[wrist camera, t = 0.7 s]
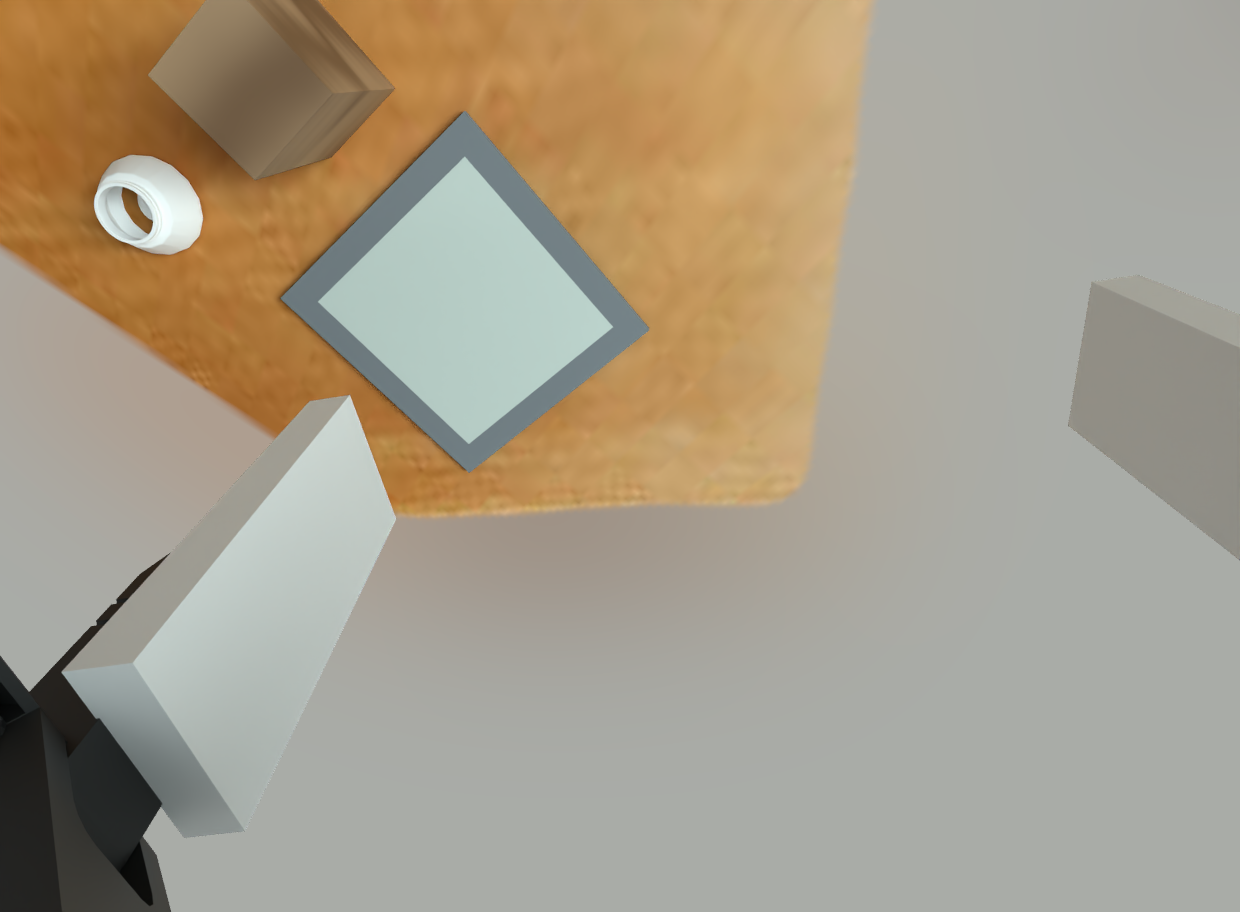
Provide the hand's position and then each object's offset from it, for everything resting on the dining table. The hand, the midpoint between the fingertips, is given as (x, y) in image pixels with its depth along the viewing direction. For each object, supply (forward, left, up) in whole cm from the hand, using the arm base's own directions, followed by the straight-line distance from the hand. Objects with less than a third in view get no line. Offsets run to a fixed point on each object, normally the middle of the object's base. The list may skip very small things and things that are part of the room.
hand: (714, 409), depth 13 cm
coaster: (-1, -12, -29) cm, 31 cm away
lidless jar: (-16, -21, -29) cm, 39 cm away
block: (-14, -9, -29) cm, 33 cm away
